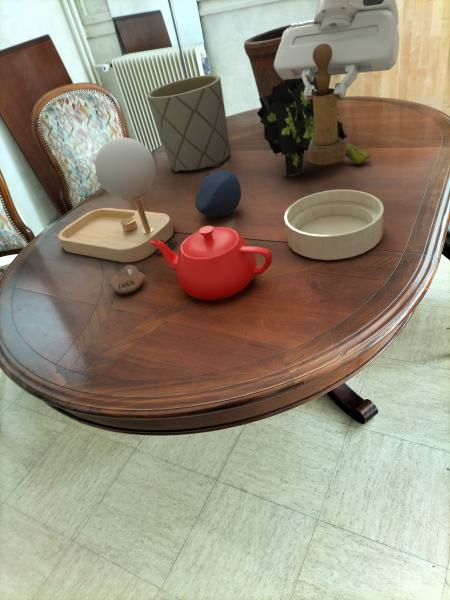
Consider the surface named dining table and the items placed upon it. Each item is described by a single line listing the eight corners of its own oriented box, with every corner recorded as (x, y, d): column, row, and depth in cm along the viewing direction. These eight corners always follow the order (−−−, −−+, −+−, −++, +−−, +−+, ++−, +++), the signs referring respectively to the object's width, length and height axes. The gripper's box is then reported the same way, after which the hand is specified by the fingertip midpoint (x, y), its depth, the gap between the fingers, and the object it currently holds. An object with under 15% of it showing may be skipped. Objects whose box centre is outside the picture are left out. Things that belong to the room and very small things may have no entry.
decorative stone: (230, 199, 112) (222, 162, 106) (253, 212, 103) (246, 174, 97) (191, 215, 109) (181, 179, 103) (212, 231, 100) (203, 192, 94)
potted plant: (365, 153, 121) (311, 57, 113) (380, 160, 100) (315, 43, 93) (301, 195, 128) (246, 107, 121) (302, 209, 107) (237, 104, 100)
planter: (239, 144, 145) (225, 70, 131) (228, 170, 128) (211, 88, 114) (178, 153, 151) (159, 83, 137) (159, 179, 134) (135, 102, 120)
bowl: (380, 211, 91) (381, 185, 88) (385, 261, 77) (386, 233, 73) (292, 217, 97) (289, 193, 93) (282, 264, 83) (278, 238, 79)
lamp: (56, 250, 109) (6, 155, 94) (101, 218, 120) (63, 128, 104) (151, 268, 92) (109, 156, 77) (193, 228, 103) (164, 123, 87)
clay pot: (306, 147, 130) (297, 36, 112) (242, 138, 150) (226, 43, 131) (354, 119, 141) (353, 15, 123) (289, 115, 161) (279, 23, 143)
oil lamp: (159, 280, 89) (134, 273, 94) (155, 263, 87) (129, 257, 92) (128, 300, 83) (103, 292, 88) (123, 283, 81) (97, 275, 86)
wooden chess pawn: (323, 168, 72) (317, 50, 61) (301, 159, 77) (292, 49, 66) (354, 155, 74) (352, 38, 63) (330, 147, 79) (325, 38, 68)
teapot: (287, 262, 83) (280, 207, 76) (264, 314, 72) (253, 255, 65) (178, 258, 93) (162, 208, 86) (144, 302, 82) (123, 250, 75)
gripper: (278, 13, 72) (260, 91, 72) (403, -10, 61) (383, 82, 61) (291, 37, 77) (275, 110, 77) (408, 19, 67) (390, 104, 67)
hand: (323, 97), depth 69 cm, fingers closed on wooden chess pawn, 4 cm apart
